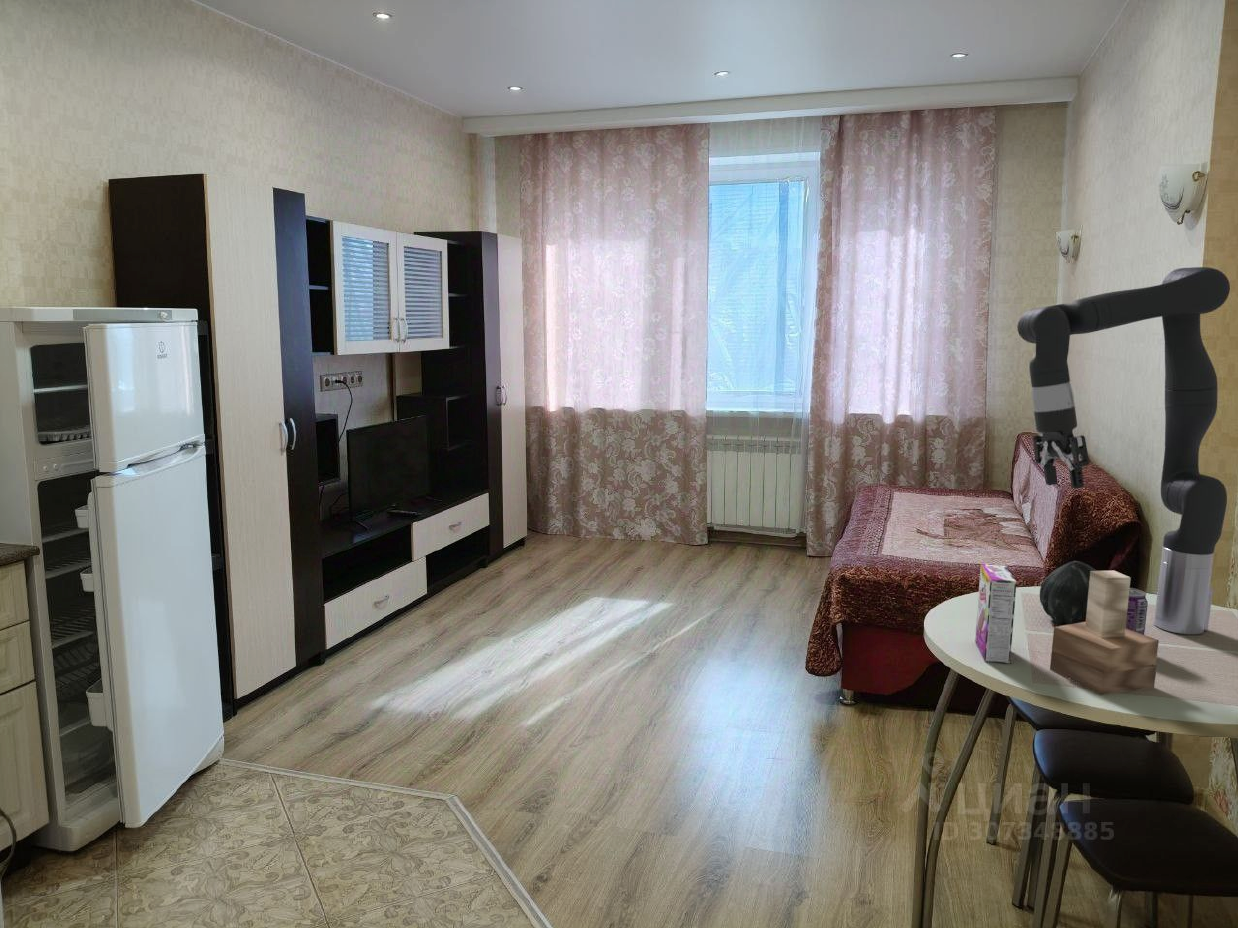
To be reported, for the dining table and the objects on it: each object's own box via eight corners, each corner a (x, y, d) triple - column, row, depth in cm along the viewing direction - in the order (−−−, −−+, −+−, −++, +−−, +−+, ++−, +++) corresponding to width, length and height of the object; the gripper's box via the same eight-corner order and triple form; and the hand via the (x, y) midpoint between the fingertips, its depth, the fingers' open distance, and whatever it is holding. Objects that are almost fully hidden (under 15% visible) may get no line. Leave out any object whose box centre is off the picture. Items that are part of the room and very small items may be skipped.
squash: (1107, 589, 206) (1067, 540, 204) (1143, 614, 192) (1100, 561, 189) (1054, 628, 208) (1014, 580, 206) (1085, 656, 194) (1043, 604, 192)
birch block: (1108, 628, 172) (1113, 570, 170) (1124, 636, 167) (1130, 577, 165) (1085, 629, 171) (1090, 570, 169) (1100, 637, 166) (1106, 578, 165)
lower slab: (1100, 665, 178) (1103, 642, 177) (1153, 689, 167) (1156, 665, 166) (1049, 671, 174) (1052, 648, 173) (1100, 697, 163) (1103, 672, 162)
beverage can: (1138, 645, 187) (1145, 588, 185) (1145, 657, 181) (1152, 598, 179) (1099, 641, 190) (1105, 584, 188) (1104, 653, 183) (1111, 594, 181)
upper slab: (1097, 641, 177) (1100, 619, 177) (1155, 664, 167) (1158, 640, 166) (1051, 650, 173) (1054, 626, 172) (1108, 673, 162) (1111, 649, 161)
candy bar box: (973, 641, 188) (979, 563, 185) (999, 644, 187) (1006, 564, 184) (982, 662, 177) (990, 578, 174) (1010, 664, 176) (1018, 580, 173)
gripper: (1093, 403, 180) (1104, 485, 181) (1049, 403, 194) (1060, 479, 195) (1058, 410, 179) (1069, 493, 180) (1016, 410, 193) (1027, 486, 195)
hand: (1064, 486), depth 188 cm, fingers open, 8 cm apart
